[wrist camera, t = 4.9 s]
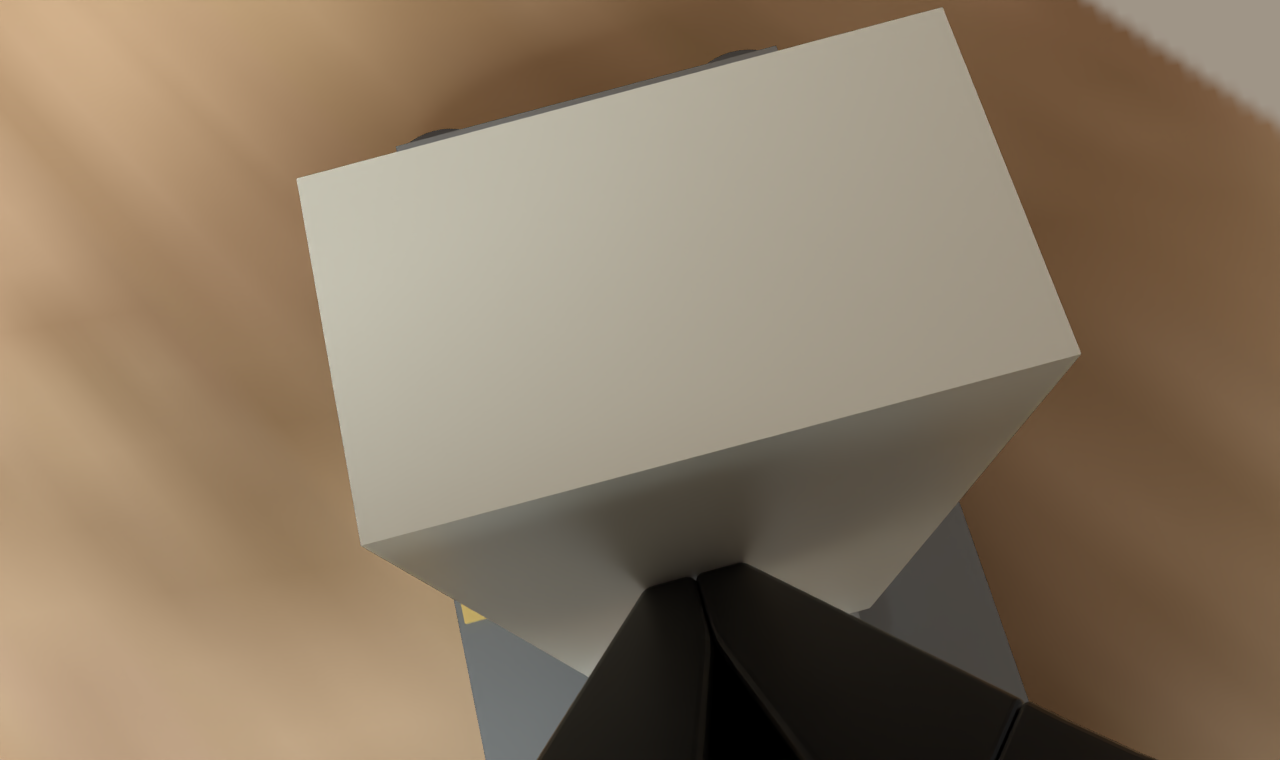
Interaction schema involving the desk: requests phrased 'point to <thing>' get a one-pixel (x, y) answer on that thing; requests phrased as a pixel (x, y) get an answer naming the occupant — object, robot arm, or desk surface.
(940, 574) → the console
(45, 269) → the desk surface
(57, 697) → the desk surface
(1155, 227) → the desk surface
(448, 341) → the fader tab
